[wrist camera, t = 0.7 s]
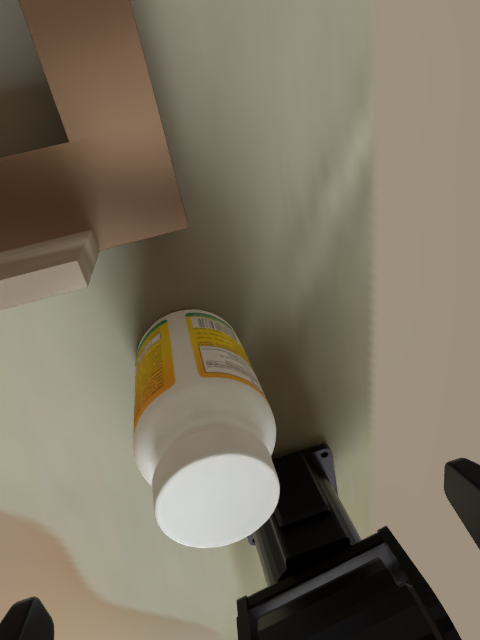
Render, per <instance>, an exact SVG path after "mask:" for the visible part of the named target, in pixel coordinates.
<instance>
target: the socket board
mask: <svg viewBox="0 0 480 640" xmlns="http://www.w3.org/2000/svg"><path fill="white" fill-rule="evenodd" d="M18 1H19V3H20V6H21V9H22V12H23V14H24V17H25V20H26V23H27V26H28V28H29V31H30V34H31V37H32V40H33V42H34V45H35V48H36V51H37V53H38V56H39V59H40V62H41V65H42V67H43V70H44V73H45V76H46V79H47V81H48V84H49V87H50V90H51V92H52V95H53V98H54V101H55V104H56V106H57V109H58V112H59V115H60V117H61V120H62V123H63V126H64V129H65V131H66V134H67V137H68V140H69V142H67V143H63V144H58V145H54V146H49V147H45V148H40V149H36V150H31V151H27V152H22V153H18V154H13V155H9V156H5V157H0V310H3V309H6V308H10V307H14V306H18V305H21V304H25V303H29V302H33V301H37V300H40V299H44V298H48V297H52V296H56V295H59V294H63V293H67V292H71V291H74V290H78V289H82V288H86V287H88V284H89V281H90V278H91V275H92V272H93V269H94V266H95V263H96V260H97V257H98V254H99V250H103V249H107V248H111V247H115V246H119V245H123V244H127V243H131V242H135V241H139V240H143V239H146V238H150V237H154V236H158V235H162V234H166V233H170V232H174V231H178V230H182V229H186V228H189V227H188V223H187V219H186V216H185V212H184V208H183V204H182V200H181V196H180V192H179V189H178V185H177V181H176V177H175V173H174V169H173V166H172V162H171V158H170V154H169V150H168V146H167V142H166V139H165V135H164V131H163V127H162V123H161V119H160V115H159V112H158V108H157V104H156V100H155V96H154V92H153V88H152V85H151V81H150V77H149V73H148V69H147V65H146V61H145V58H144V54H143V50H142V46H141V42H140V38H139V34H138V31H137V27H136V23H135V19H134V15H133V11H132V7H131V4H130V0H18Z"/></svg>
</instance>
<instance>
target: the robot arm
mask: <svg viewBox="0 0 480 640" xmlns="http://www.w3.org/2000/svg"><path fill="white" fill-rule="evenodd" d="M323 452H324V453H323ZM272 462H273V465H274V468H275V470H276V473H277V476H278V479H279V484H280V494H279V500H278V503H277V506H276V508H275V510H274V512H273V513H272V515H271V516H270V518H269V519H268V520H267V521H266V522H265V523H264V524H263V525H262V526H261V527H260V528H259V529H258V530H256V531H255V532H253V533H252V534H251V535H249V536H247V538H248V541H249V543H250V544H251V545H256V547H257V551H258V554H259V558H260V561H261V565H262V568H263V572H264V575H265V579H266V582H267V586H268V587H266V588H264V589H262V590H260V591H258V592H256V593H254V594H252V595H250V596H248V597H247V595H246V596H244V597H242V598H240V599H238V600H237V611H238V617H237V631H238V640H462V639H461V638H460V636H459V634H458V632H457V630H456V629H455V627H454V625H453V623H452V621H451V620H450V618H449V616H448V614H447V613H446V611H445V610H444V608H443V606H442V604H441V603H440V601H439V600H438V598H437V597H436V595H435V593H434V592H433V590H432V589H431V588H430V586H429V585H428V583H427V582H426V581H425V579H424V577H422V575H421V573H420V572H419V571H418V569H417V568H416V566H415V565H414V564H413V562H412V561H411V560H410V558H409V557H408V555H407V554H406V552H405V551H404V550H403V548H402V547H401V545H400V544H399V543H398V541H397V540H396V539H395V537H394V536H393V534H392V533H391V531H390V530H389V529H388V527H387V526H385V527H383V528H381V529H379V530H377V531H378V532H377V533H375V534H373V535H371V536H369V537H367V538H365V539H363V540H361V538H360V536H359V534H358V532H357V530H356V529H355V527H354V525H353V523H352V521H351V519H350V518H349V516H348V514H347V512H346V510H345V508H344V507H343V505H342V503H341V501H340V499H339V497H338V495H337V487H336V479H335V472H334V464H333V456H332V451H331V449H330V448H329V446H328V445H326V444H322V445H318V446H315V447H312V448H309V449H306V450H303V451H300V452H297V453H294V454H291V455H288V456H285V457H282V458H279V459H276V460H273V461H272ZM444 490H445V494H446V496H447V498H448V500H449V502H450V503H451V505H452V506H453V508H454V509H455V511H456V513H457V514H458V516H459V517H460V519H461V521H462V522H463V524H464V525H465V527H466V529H467V530H468V532H469V533H470V535H471V537H472V538H473V540H474V541H475V543H476V544H477V546H478V548H479V549H480V465H479V464H477V463H475V462H472V461H470V460H468V459H466V458H459V459H455V460H452V461H449V462H447V463H446V465H445V473H444ZM0 640H54V624H53V620H52V618H51V616H50V615H49V613H48V612H47V610H46V609H45V607H44V605H43V604H42V602H41V601H40V599H39V598H37V597H30V598H27V599H24V600H21V601H18V602H16V603H15V604H14V605H13V606H12V607H11V608H10V609H9V611H8V612H7V614H6V615H5V617H4V618H3V620H2V621H1V623H0Z"/></svg>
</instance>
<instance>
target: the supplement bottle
mask: <svg viewBox="0 0 480 640" xmlns="http://www.w3.org/2000/svg"><path fill="white" fill-rule="evenodd" d="M135 365H136V372H135V373H136V375H135V406H134V435H133V448H134V456H135V460H136V463H137V466H138V468H139V470H140V472H141V474H142V475H143V477H144V478H145V479H146V480H147V482H148V483H149V484H150V485H151V486H152V491H153V500H154V512H155V517H156V520H157V523H158V525H159V527H160V528H161V529H162V531H163V532H164V533H165V534H166V535H167V536H168V537H170V538H171V539H173V540H174V541H176V542H178V543H180V544H183V545H186V546H190V547H197V548H211V547H220V546H225V545H228V544H231V543H234V542H237V541H239V540H241V539H243V538H245V537H247V536H249V535H251V534H252V533H253V532H255V531H256V530H258V529H259V528H260V527H261V526H262V525H263V524H264V523H265V522H266V521H267V520H268V519H269V518H270V516H271V515H272V513H273V512H274V510H275V508H276V506H277V503H278V500H279V494H280V484H279V479H278V476H277V473H276V470H275V468H274V465H273V462H272V458H271V455H272V453H273V450H274V446H275V441H276V424H275V419H274V416H273V413H272V410H271V408H270V406H269V403H268V401H267V399H266V397H265V395H264V392H263V390H262V388H261V386H260V384H259V381H258V379H257V377H256V375H255V373H254V371H253V368H252V366H251V364H250V362H249V360H248V357H247V355H246V353H245V351H244V349H243V347H242V344H241V342H240V340H239V338H238V336H237V334H236V333H235V331H234V329H233V328H232V327H231V326H230V325H229V324H228V323H227V322H226V321H225V320H223V319H222V318H221V317H219V316H217V315H215V314H213V313H210V312H207V311H203V310H197V309H190V310H181V311H177V312H173V313H171V314H168V315H166V316H164V317H162V318H161V319H159V320H157V321H156V322H155V323H154V324H153V325H152V326H151V327H150V328H149V329H148V331H147V332H146V333H145V335H144V336H143V338H142V340H141V342H140V344H139V346H138V350H137V355H136V364H135Z"/></svg>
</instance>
